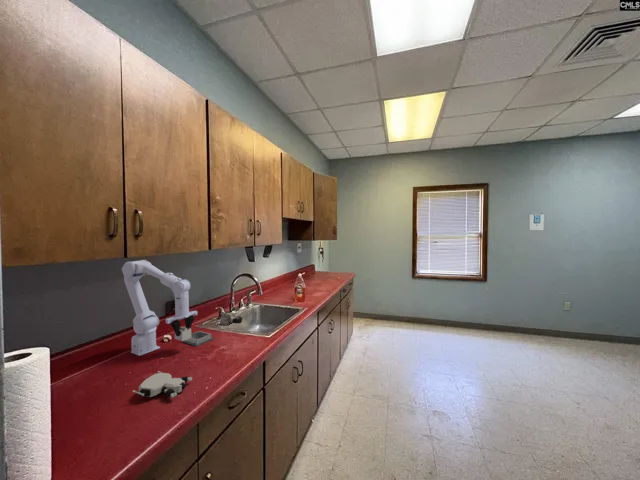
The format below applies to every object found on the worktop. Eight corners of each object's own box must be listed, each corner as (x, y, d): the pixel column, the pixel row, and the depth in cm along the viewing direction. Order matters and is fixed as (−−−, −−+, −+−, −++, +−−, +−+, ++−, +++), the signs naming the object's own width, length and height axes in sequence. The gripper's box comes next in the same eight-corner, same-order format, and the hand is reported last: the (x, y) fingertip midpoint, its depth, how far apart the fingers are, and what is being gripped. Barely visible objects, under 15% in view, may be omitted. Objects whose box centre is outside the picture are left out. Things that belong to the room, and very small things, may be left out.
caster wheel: (243, 325, 162) (234, 328, 153) (228, 320, 165) (218, 323, 156) (245, 315, 163) (237, 317, 153) (231, 310, 166) (221, 312, 156)
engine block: (182, 341, 117) (182, 330, 117) (174, 338, 120) (174, 328, 120) (191, 337, 121) (191, 327, 121) (183, 335, 124) (183, 325, 124)
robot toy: (194, 384, 95) (156, 380, 96) (194, 372, 95) (156, 369, 96) (173, 406, 83) (130, 402, 84) (174, 392, 83) (130, 388, 84)
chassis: (196, 346, 126) (196, 341, 126) (182, 342, 132) (182, 336, 132) (213, 339, 134) (213, 334, 134) (199, 335, 140) (199, 330, 140)
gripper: (171, 310, 112) (172, 341, 112) (201, 303, 125) (201, 330, 125) (162, 308, 116) (163, 338, 116) (192, 301, 128) (192, 327, 129)
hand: (182, 333), depth 121 cm, fingers closed on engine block, 4 cm apart
